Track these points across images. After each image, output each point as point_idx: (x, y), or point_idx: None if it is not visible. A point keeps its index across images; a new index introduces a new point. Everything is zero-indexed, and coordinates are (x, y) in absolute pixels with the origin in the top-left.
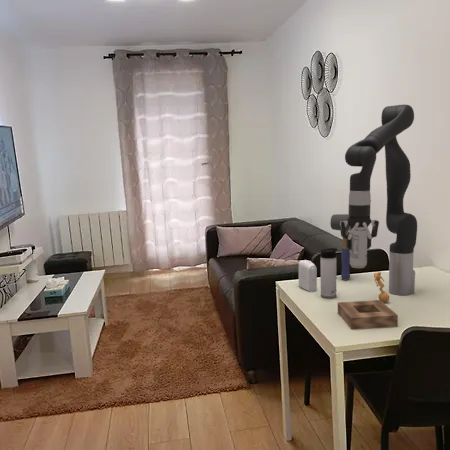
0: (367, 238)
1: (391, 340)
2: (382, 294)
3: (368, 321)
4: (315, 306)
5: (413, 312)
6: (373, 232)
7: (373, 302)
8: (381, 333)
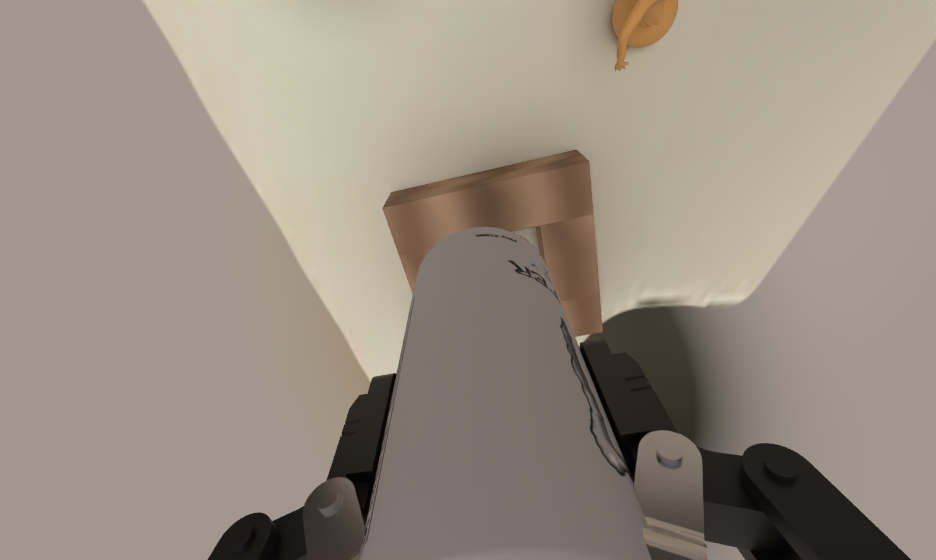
0: (630, 468)
1: None
2: (637, 31)
3: None
4: (281, 109)
5: (711, 169)
6: (804, 522)
7: (548, 199)
8: None
